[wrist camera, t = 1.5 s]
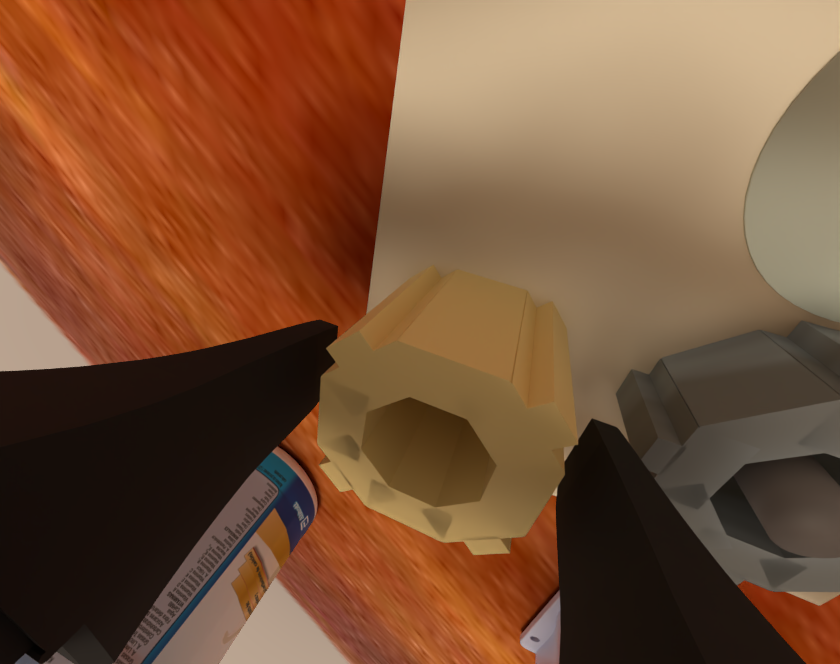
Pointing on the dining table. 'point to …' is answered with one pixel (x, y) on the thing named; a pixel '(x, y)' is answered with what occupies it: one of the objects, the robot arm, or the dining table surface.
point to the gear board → (651, 235)
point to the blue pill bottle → (225, 570)
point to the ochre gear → (451, 408)
